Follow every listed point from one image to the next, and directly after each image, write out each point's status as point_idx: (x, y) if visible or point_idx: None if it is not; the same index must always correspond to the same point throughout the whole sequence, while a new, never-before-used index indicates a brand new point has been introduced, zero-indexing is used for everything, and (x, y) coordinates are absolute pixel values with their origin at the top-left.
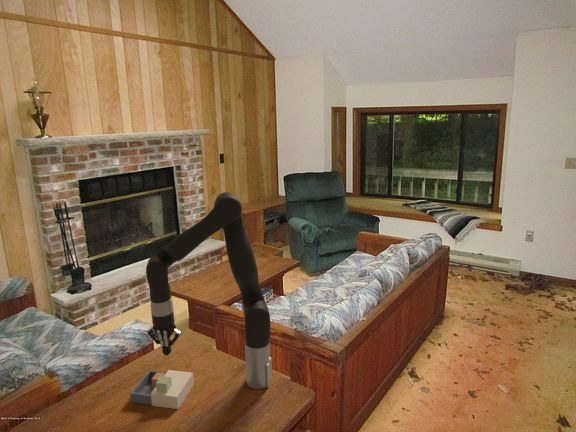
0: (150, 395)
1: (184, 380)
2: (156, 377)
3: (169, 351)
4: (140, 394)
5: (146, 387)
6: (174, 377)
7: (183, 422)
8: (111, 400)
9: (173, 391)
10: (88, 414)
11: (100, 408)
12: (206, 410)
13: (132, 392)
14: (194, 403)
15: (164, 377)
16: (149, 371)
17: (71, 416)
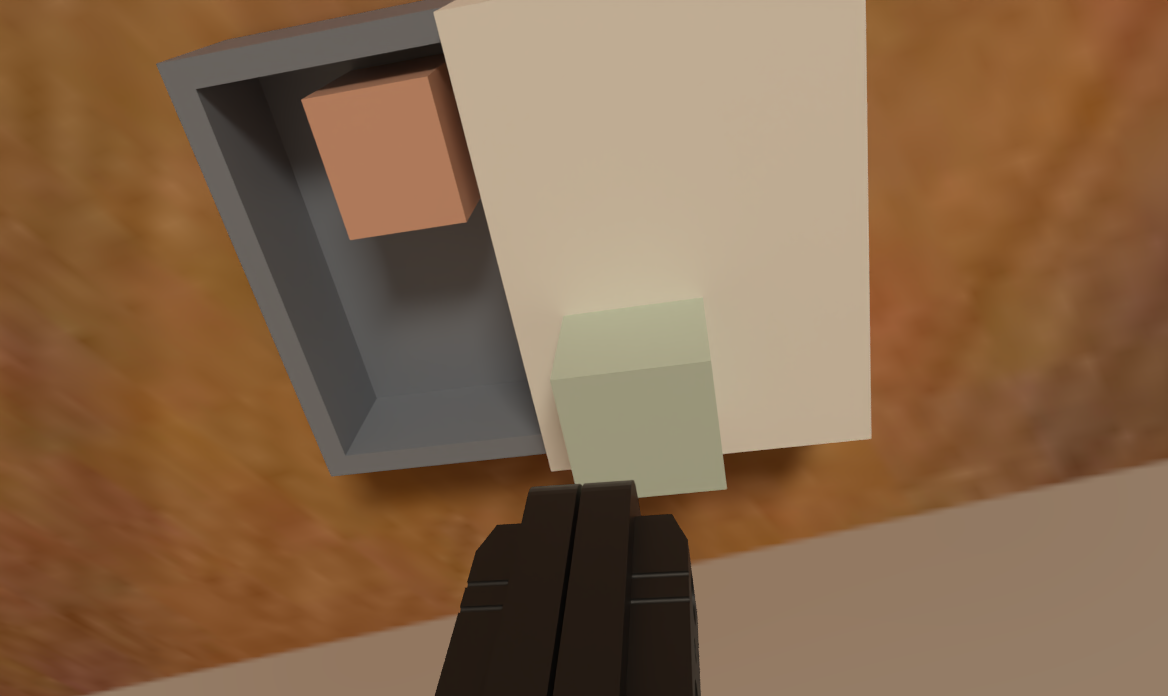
0: (542, 446)
1: (813, 154)
2: (384, 196)
3: (698, 647)
4: (436, 462)
5: (321, 207)
6: (634, 145)
7: (958, 460)
8: (182, 425)
9: (779, 378)
10: (182, 573)
11: (196, 512)
12: (1141, 280)
13: (338, 460)
14: (968, 230)
15: (617, 394)
16: (182, 94)
17: (103, 610)
